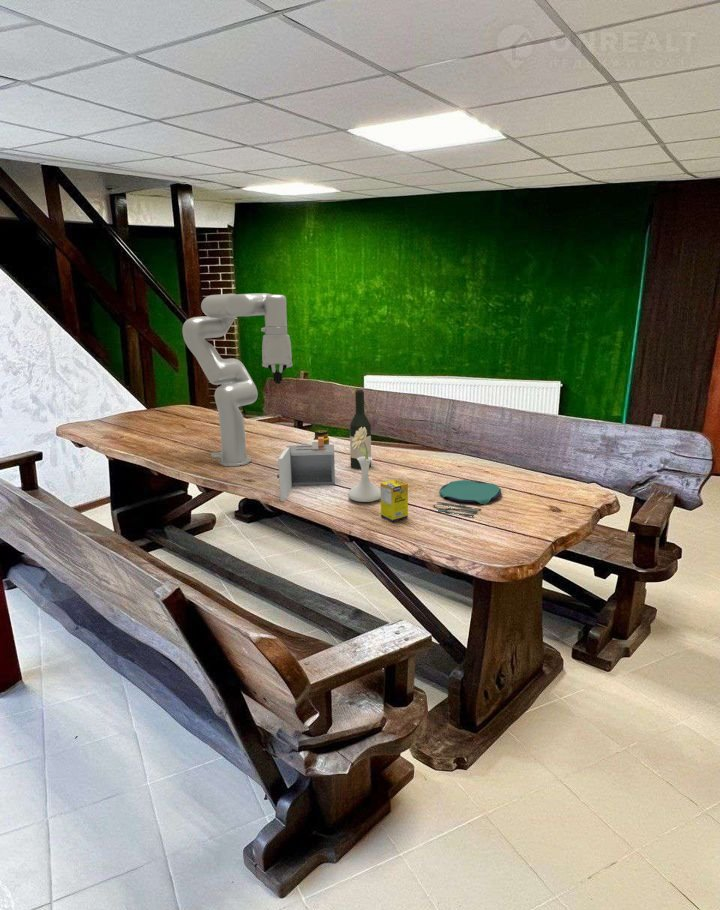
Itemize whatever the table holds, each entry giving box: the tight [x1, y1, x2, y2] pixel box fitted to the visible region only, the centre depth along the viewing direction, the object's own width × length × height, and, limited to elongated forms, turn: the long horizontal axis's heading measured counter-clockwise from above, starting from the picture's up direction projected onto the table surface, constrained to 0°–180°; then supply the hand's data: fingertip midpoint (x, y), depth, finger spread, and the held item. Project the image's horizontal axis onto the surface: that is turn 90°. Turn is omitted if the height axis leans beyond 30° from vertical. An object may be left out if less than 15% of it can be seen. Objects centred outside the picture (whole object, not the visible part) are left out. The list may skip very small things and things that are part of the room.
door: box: [276, 445, 293, 502], centre depth 203 cm, size 16×2×14 cm, turn 176°
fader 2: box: [318, 437, 324, 446], centre depth 217 cm, size 2×2×3 cm
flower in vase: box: [347, 427, 381, 503], centre depth 194 cm, size 13×11×25 cm
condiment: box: [313, 429, 330, 445], centre depth 242 cm, size 7×8×12 cm
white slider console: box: [289, 444, 336, 487], centre depth 216 cm, size 16×10×12 cm, turn 92°
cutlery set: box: [432, 479, 502, 518], centre depth 197 cm, size 20×30×2 cm, turn 150°
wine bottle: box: [349, 388, 372, 470], centre depth 230 cm, size 8×8×30 cm
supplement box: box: [380, 478, 409, 522], centre depth 181 cm, size 6×6×11 cm
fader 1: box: [311, 439, 318, 449], centre depth 213 cm, size 2×2×3 cm
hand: (278, 383), depth 217 cm, fingers closed
